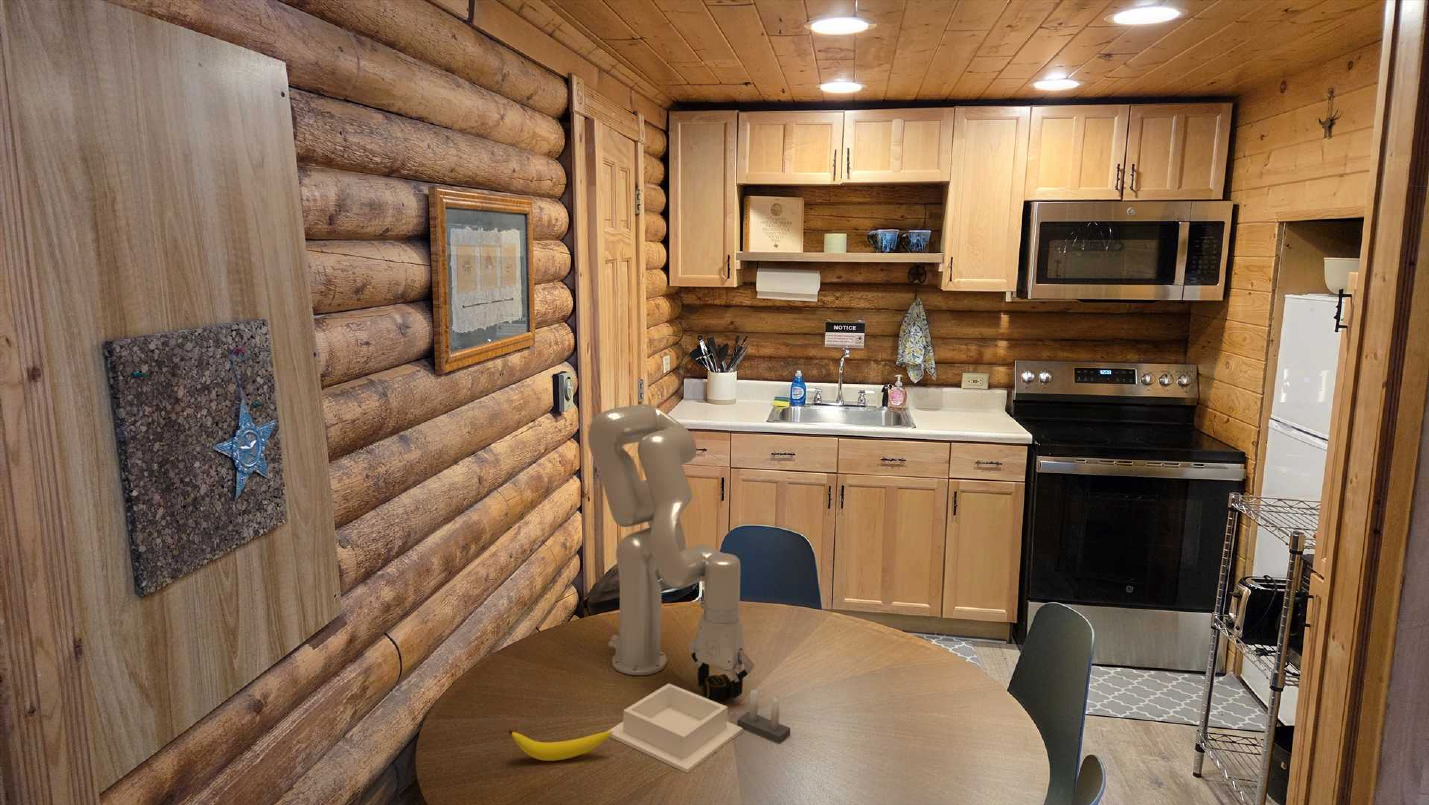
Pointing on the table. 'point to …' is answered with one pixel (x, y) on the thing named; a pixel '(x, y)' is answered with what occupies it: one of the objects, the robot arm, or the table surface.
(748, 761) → the table surface
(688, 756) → the white square tray
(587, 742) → the banana
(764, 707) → the table surface
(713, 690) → the tape measure
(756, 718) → the peg board plate
